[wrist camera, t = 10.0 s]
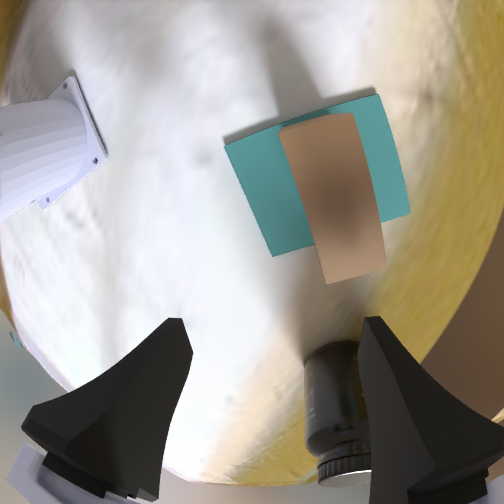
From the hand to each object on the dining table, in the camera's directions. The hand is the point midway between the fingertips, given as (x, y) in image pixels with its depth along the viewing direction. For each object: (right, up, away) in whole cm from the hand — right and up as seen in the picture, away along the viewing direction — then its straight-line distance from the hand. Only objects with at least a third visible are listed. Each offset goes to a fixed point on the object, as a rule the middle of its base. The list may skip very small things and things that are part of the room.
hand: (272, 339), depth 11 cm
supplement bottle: (+8, -7, +14) cm, 17 cm away
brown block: (+4, +8, +5) cm, 10 cm away
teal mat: (+4, +8, +6) cm, 11 cm away
